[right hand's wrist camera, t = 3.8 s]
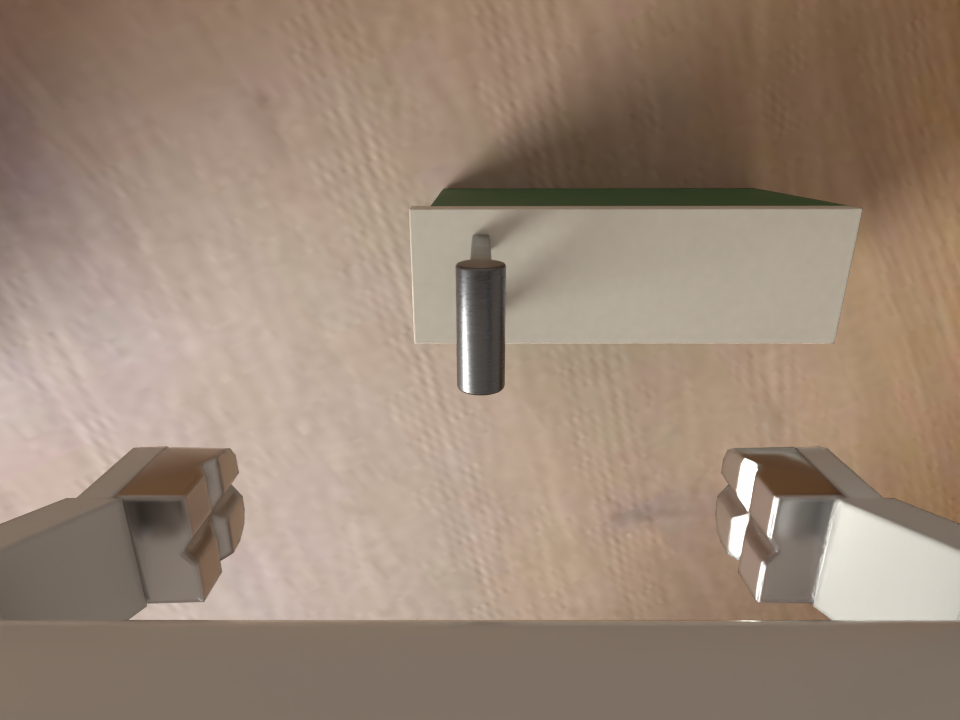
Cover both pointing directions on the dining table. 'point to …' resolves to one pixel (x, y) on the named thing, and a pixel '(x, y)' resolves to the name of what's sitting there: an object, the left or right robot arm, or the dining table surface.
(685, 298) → the door
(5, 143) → the dining table surface
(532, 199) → the chest
